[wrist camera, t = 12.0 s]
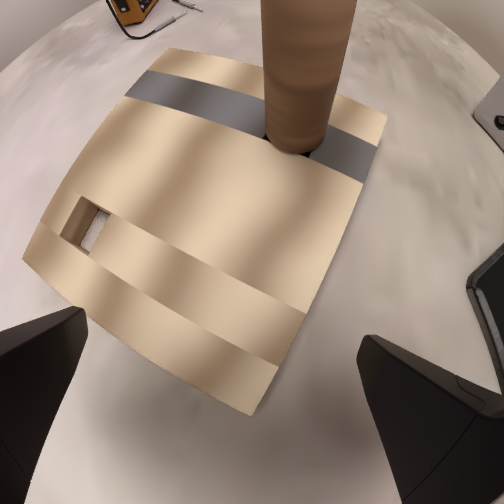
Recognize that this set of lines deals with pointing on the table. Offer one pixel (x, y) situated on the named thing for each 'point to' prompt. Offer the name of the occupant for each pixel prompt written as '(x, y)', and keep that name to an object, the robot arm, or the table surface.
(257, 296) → the board
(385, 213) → the table surface
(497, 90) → the electrical switch
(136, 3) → the multimeter
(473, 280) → the phone
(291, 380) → the table surface
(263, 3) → the brown round-topped cylinder
